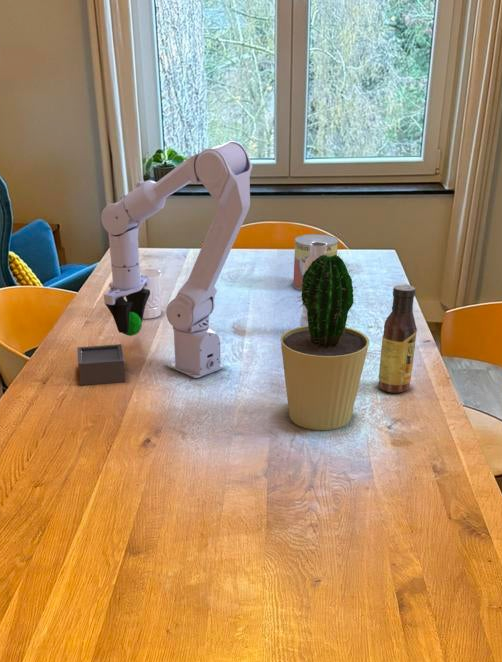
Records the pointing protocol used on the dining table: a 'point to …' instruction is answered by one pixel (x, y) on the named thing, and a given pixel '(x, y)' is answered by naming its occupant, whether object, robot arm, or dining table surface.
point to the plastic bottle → (315, 251)
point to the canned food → (303, 253)
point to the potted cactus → (324, 349)
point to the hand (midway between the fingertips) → (130, 328)
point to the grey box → (101, 364)
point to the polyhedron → (134, 324)
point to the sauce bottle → (398, 342)
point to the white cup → (153, 293)
